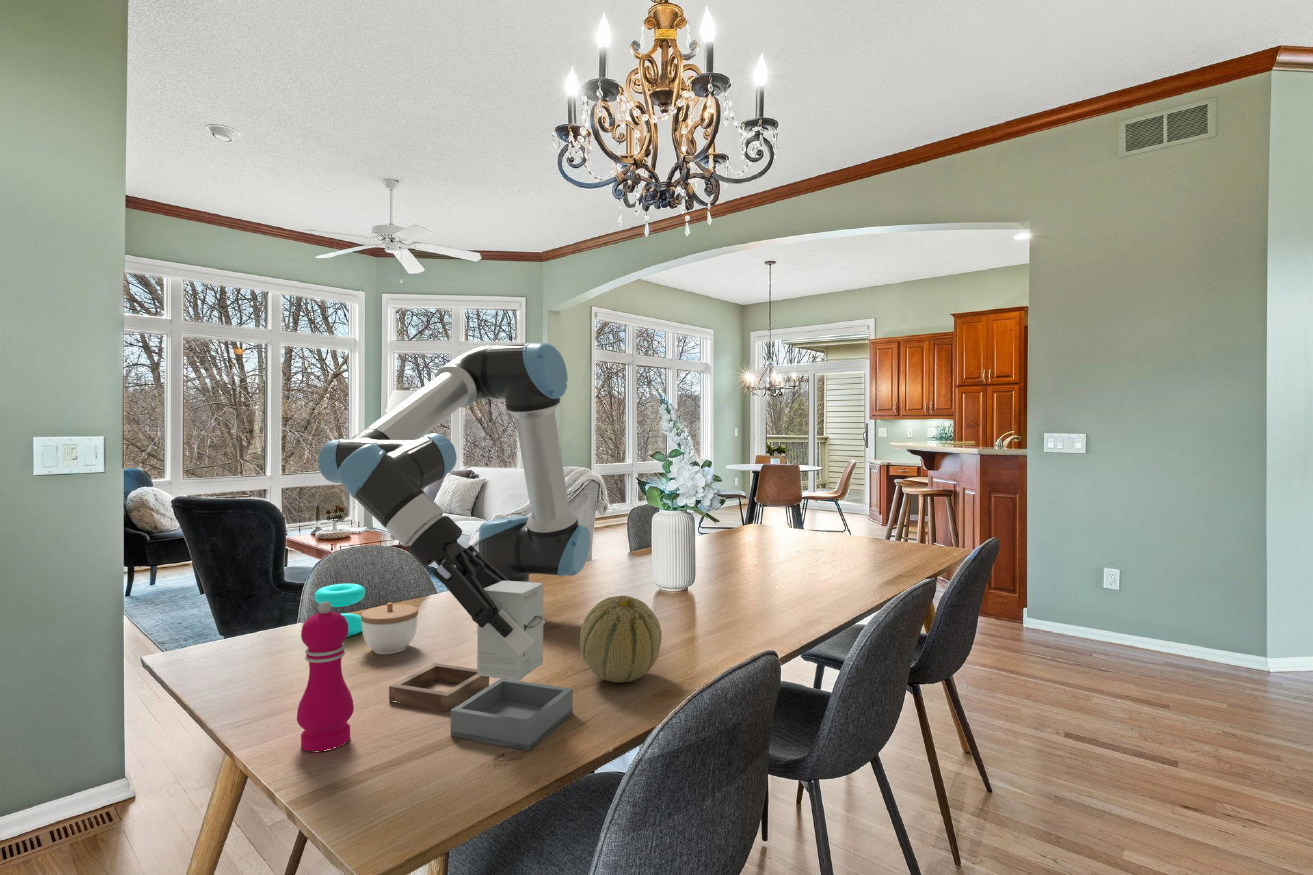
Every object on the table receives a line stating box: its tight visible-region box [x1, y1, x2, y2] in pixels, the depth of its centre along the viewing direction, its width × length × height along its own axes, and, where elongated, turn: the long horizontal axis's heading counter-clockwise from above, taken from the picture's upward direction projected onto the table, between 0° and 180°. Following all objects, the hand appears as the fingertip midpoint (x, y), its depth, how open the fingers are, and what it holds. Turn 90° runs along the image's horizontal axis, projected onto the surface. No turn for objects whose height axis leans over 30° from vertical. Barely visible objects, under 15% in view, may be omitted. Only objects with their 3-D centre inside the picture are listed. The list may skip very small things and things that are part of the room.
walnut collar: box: [388, 662, 490, 713], centre depth 111 cm, size 11×11×2 cm
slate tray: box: [450, 678, 574, 752], centre depth 100 cm, size 13×13×4 cm
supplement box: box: [476, 581, 544, 681], centre depth 99 cm, size 7×7×13 cm
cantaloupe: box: [579, 595, 663, 684], centre depth 117 cm, size 15×15×15 cm
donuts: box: [314, 583, 366, 638], centre depth 144 cm, size 10×10×10 cm
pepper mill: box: [296, 601, 355, 752], centre depth 94 cm, size 7×7×20 cm
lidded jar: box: [360, 602, 419, 655], centre depth 134 cm, size 11×11×9 cm
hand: (533, 638), depth 99 cm, fingers closed on supplement box, 9 cm apart
